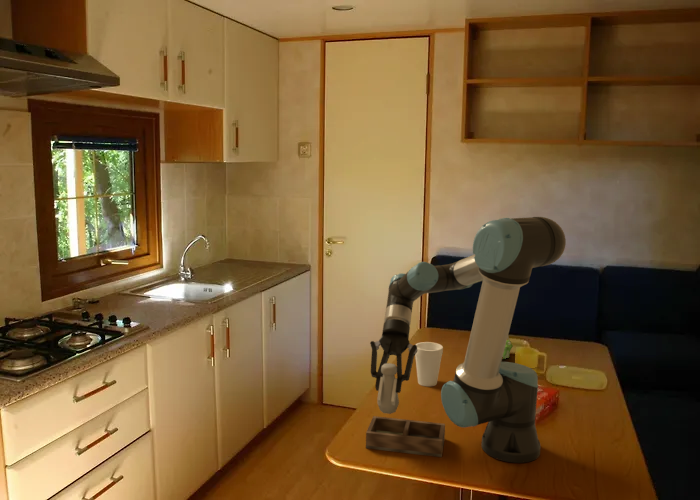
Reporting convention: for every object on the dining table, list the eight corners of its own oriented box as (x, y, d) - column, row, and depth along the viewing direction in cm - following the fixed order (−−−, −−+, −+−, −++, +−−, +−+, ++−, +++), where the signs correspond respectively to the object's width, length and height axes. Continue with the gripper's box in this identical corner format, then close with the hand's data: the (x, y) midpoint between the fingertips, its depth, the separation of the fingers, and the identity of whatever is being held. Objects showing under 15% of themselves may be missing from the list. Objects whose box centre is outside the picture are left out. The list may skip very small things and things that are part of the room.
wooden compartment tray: (444, 438, 170) (445, 423, 169) (441, 457, 159) (442, 441, 159) (373, 430, 174) (373, 416, 173) (365, 448, 164) (366, 432, 163)
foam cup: (440, 378, 214) (442, 342, 212) (442, 388, 205) (443, 351, 203) (413, 377, 215) (414, 341, 213) (413, 387, 206) (414, 350, 204)
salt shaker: (397, 416, 163) (398, 369, 161) (375, 414, 165) (376, 367, 162) (399, 407, 169) (401, 362, 167) (379, 405, 170) (380, 360, 168)
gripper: (425, 332, 177) (417, 411, 164) (370, 328, 180) (358, 404, 167) (424, 320, 171) (415, 400, 158) (367, 315, 174) (354, 393, 161)
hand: (386, 402), depth 162 cm, fingers closed on salt shaker, 3 cm apart
